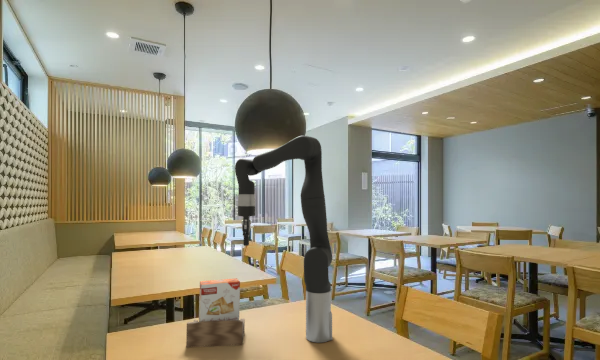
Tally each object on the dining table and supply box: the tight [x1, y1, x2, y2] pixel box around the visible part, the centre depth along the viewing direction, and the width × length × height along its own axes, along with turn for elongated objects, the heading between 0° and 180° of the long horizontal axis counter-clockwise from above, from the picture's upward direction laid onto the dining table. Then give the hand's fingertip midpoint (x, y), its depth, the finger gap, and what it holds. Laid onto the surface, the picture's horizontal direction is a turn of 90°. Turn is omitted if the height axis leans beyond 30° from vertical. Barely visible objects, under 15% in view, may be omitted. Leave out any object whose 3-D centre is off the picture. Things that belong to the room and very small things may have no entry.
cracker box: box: [198, 278, 241, 322], centre depth 123 cm, size 14×6×21 cm, turn 112°
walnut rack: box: [185, 318, 246, 348], centre depth 122 cm, size 19×12×8 cm, turn 95°
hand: (246, 245), depth 144 cm, fingers closed
